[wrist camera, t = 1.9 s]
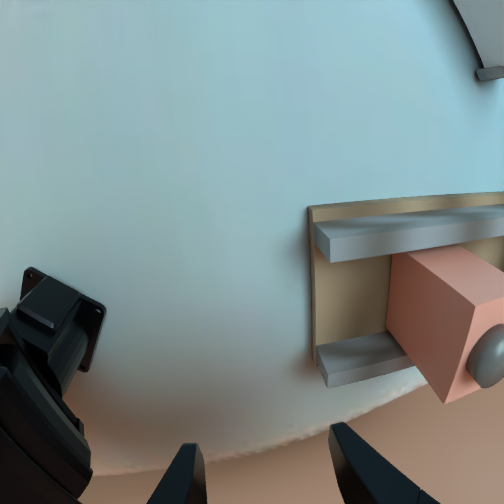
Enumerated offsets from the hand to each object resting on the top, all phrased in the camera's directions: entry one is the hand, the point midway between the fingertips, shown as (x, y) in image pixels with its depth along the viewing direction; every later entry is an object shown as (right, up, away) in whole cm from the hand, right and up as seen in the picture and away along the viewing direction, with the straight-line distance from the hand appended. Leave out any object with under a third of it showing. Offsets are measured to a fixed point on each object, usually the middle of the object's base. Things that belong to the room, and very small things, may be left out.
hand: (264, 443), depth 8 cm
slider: (+10, +3, +11) cm, 16 cm away
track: (+12, +4, +12) cm, 18 cm away
